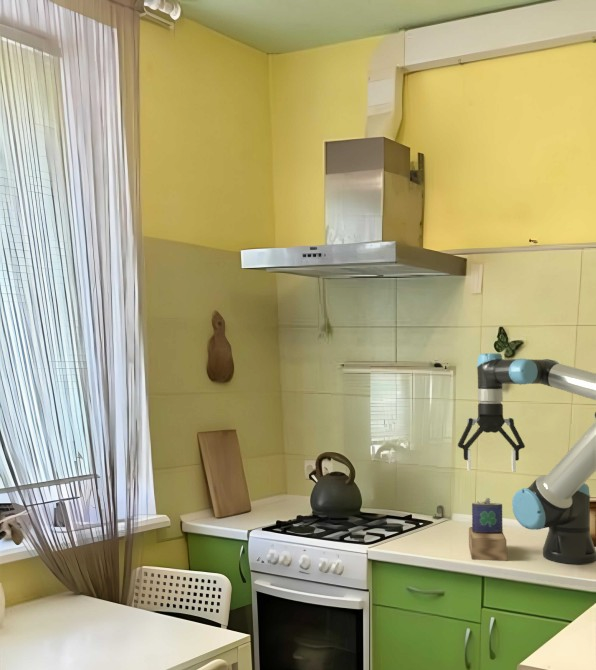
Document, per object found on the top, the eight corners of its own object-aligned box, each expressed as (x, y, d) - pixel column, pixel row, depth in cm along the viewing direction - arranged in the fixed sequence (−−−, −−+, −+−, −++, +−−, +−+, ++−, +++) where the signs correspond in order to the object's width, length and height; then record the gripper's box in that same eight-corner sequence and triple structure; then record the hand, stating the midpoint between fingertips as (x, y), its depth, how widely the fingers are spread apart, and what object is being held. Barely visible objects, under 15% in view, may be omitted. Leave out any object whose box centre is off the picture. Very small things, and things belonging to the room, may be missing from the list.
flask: (501, 531, 232) (501, 496, 233) (503, 534, 229) (503, 498, 230) (471, 531, 233) (471, 496, 233) (473, 533, 230) (473, 498, 230)
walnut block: (501, 548, 238) (501, 527, 238) (506, 560, 222) (506, 539, 222) (468, 546, 240) (468, 526, 240) (471, 559, 224) (471, 537, 224)
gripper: (528, 402, 238) (529, 469, 237) (448, 402, 241) (449, 468, 240) (533, 403, 231) (534, 472, 230) (451, 402, 233) (451, 471, 232)
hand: (491, 471), depth 235 cm, fingers open, 13 cm apart
